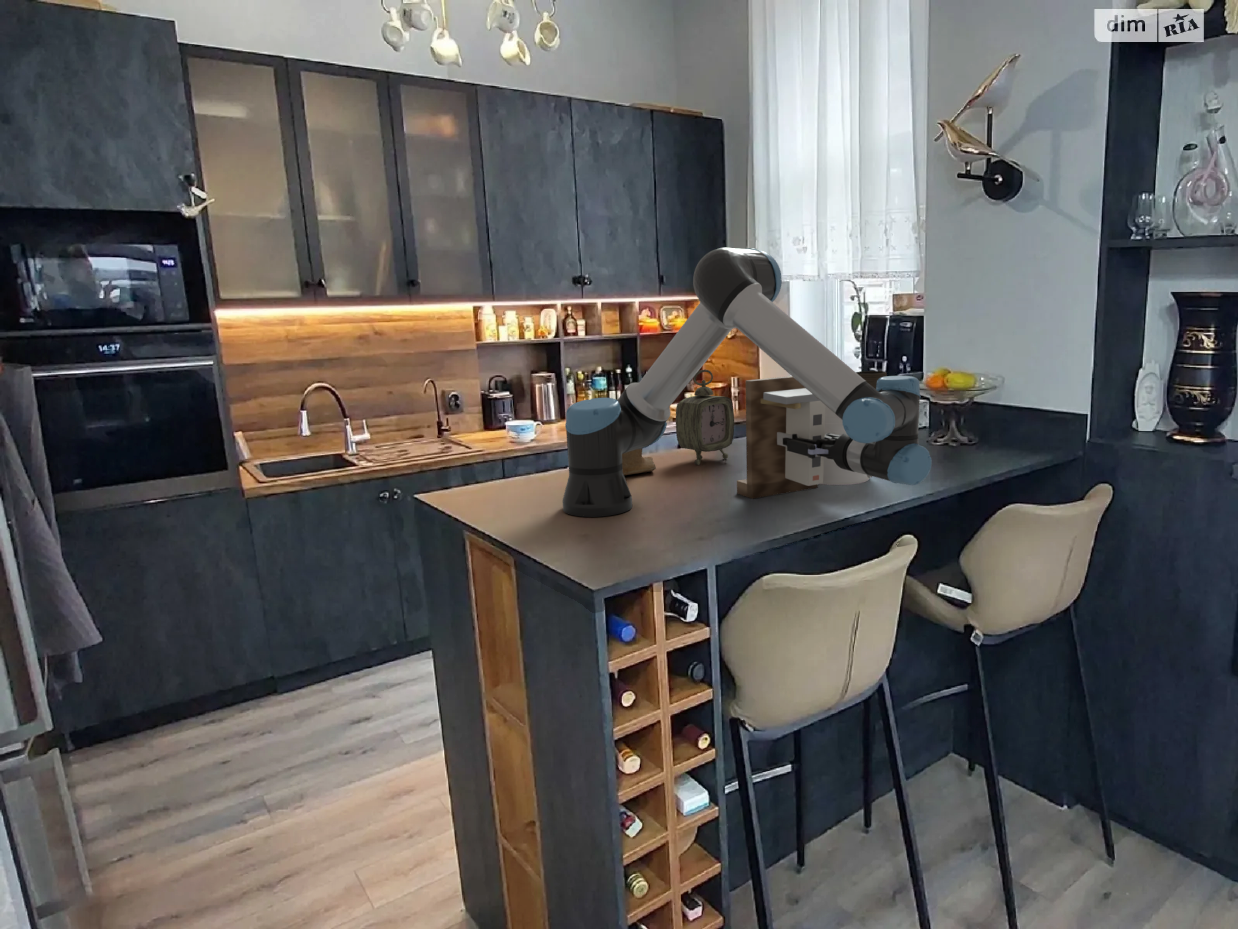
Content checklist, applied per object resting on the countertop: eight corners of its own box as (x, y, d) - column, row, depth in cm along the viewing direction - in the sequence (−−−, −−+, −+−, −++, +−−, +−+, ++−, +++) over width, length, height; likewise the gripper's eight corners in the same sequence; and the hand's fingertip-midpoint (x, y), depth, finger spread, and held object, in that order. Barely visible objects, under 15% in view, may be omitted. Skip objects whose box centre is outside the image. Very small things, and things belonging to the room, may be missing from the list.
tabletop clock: (697, 467, 212) (694, 372, 207) (673, 463, 219) (671, 371, 214) (734, 458, 221) (733, 367, 216) (711, 455, 228) (709, 366, 223)
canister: (787, 478, 195) (787, 396, 191) (827, 467, 205) (827, 389, 201) (843, 488, 183) (844, 401, 179) (882, 476, 193) (884, 393, 189)
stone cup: (611, 482, 199) (608, 422, 196) (595, 473, 210) (592, 417, 207) (666, 475, 205) (665, 416, 202) (647, 467, 216) (645, 411, 213)
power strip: (784, 489, 167) (786, 397, 163) (762, 481, 174) (763, 392, 170) (845, 479, 174) (848, 390, 169) (821, 472, 181) (824, 386, 176)
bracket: (784, 510, 166) (784, 385, 161) (737, 493, 183) (735, 379, 177) (853, 498, 174) (855, 378, 169) (801, 482, 190) (801, 372, 185)
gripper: (824, 477, 154) (755, 458, 175) (892, 466, 161) (818, 449, 182) (824, 439, 153) (754, 424, 173) (893, 429, 159) (818, 416, 180)
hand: (787, 437), depth 178 cm, fingers closed on power strip, 4 cm apart
